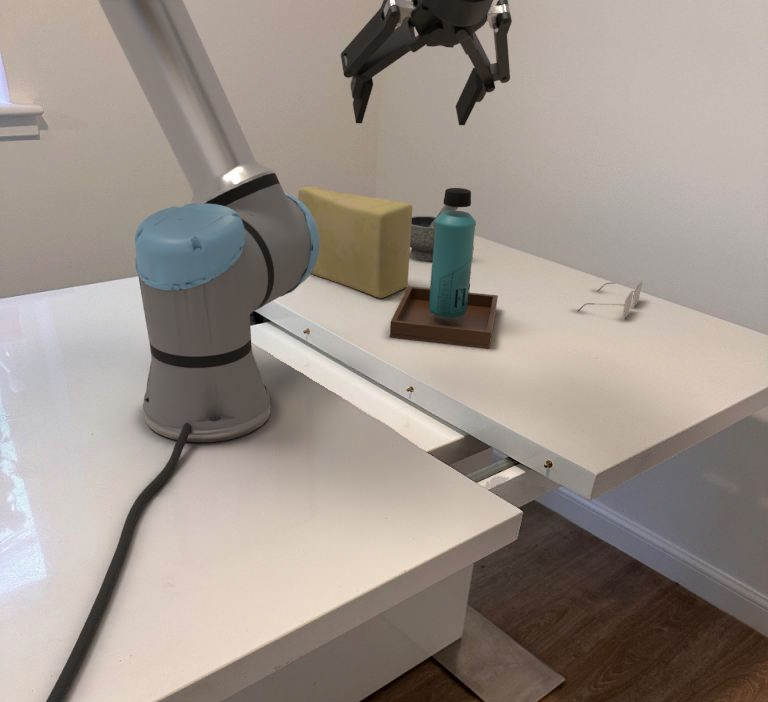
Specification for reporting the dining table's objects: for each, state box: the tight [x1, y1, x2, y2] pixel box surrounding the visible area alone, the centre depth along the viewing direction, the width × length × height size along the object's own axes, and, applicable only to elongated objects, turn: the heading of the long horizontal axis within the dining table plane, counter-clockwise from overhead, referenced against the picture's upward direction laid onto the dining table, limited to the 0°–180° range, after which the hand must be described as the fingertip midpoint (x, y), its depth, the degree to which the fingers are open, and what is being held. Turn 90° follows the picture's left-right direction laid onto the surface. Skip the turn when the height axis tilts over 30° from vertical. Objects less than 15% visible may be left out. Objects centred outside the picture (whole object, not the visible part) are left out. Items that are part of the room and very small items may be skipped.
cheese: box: [297, 186, 413, 299], centre depth 129 cm, size 22×10×15 cm, turn 56°
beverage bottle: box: [428, 187, 477, 317], centre depth 112 cm, size 6×7×20 cm
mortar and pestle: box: [409, 204, 459, 262], centre depth 145 cm, size 11×9×12 cm
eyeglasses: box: [577, 279, 643, 319], centre depth 128 cm, size 14×8×4 cm, turn 151°
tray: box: [389, 285, 499, 349], centre depth 118 cm, size 18×16×3 cm
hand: (409, 114), depth 90 cm, fingers open, 13 cm apart
